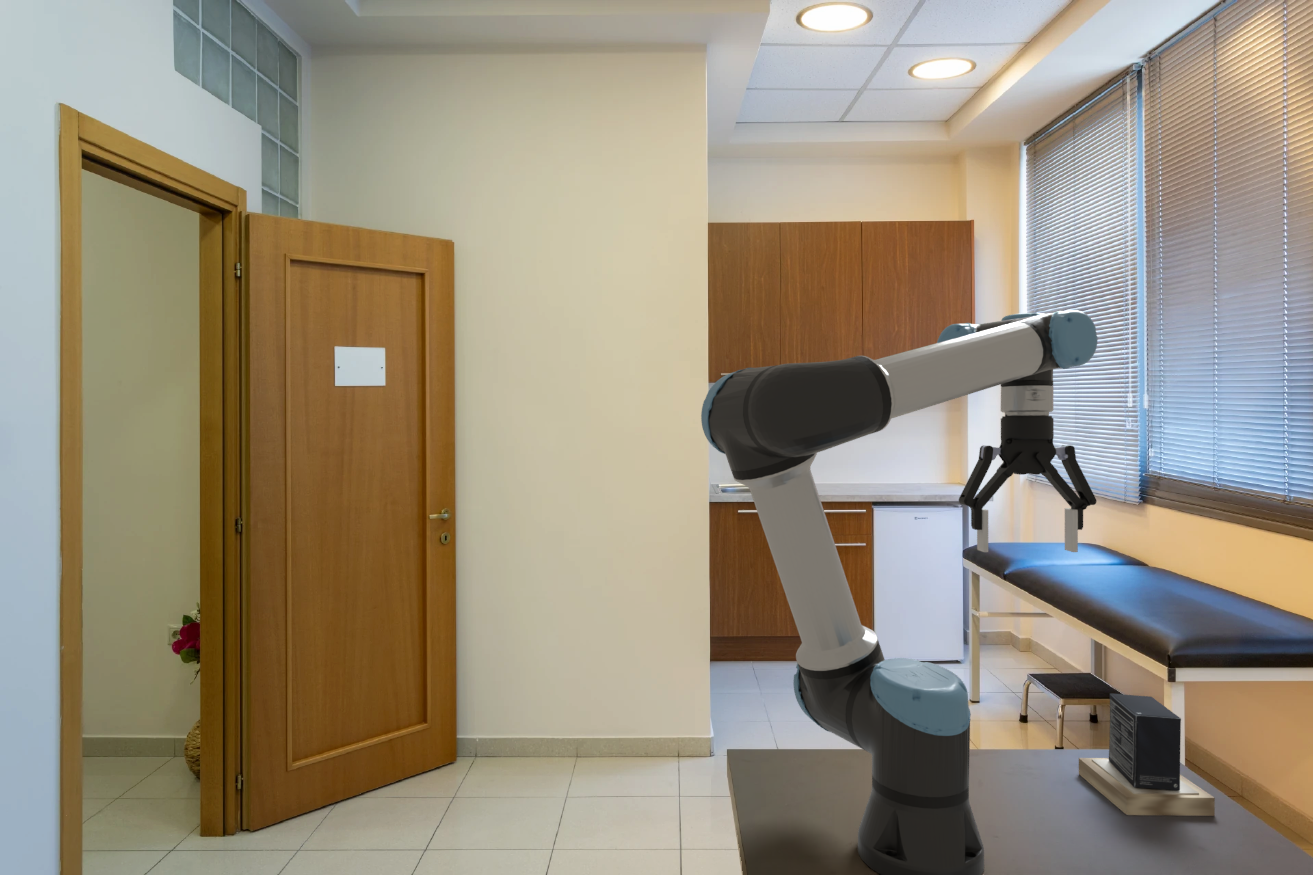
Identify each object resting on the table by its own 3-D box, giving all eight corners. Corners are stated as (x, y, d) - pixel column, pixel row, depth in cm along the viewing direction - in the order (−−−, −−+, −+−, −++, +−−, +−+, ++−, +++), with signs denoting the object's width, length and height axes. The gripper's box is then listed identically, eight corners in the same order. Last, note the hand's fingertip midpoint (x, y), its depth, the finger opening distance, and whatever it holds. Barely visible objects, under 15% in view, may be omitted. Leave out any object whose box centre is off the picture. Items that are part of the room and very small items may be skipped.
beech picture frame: (1126, 814, 117) (1126, 795, 117) (1078, 773, 131) (1078, 756, 131) (1214, 815, 116) (1214, 796, 116) (1156, 774, 130) (1156, 756, 130)
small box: (1184, 792, 118) (1184, 717, 117) (1133, 789, 119) (1134, 715, 119) (1153, 762, 128) (1153, 694, 128) (1107, 760, 129) (1107, 692, 129)
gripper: (953, 414, 127) (953, 554, 127) (1120, 413, 126) (1120, 554, 126) (938, 415, 134) (938, 547, 135) (1096, 414, 134) (1096, 547, 134)
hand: (1026, 551), depth 130 cm, fingers open, 13 cm apart
